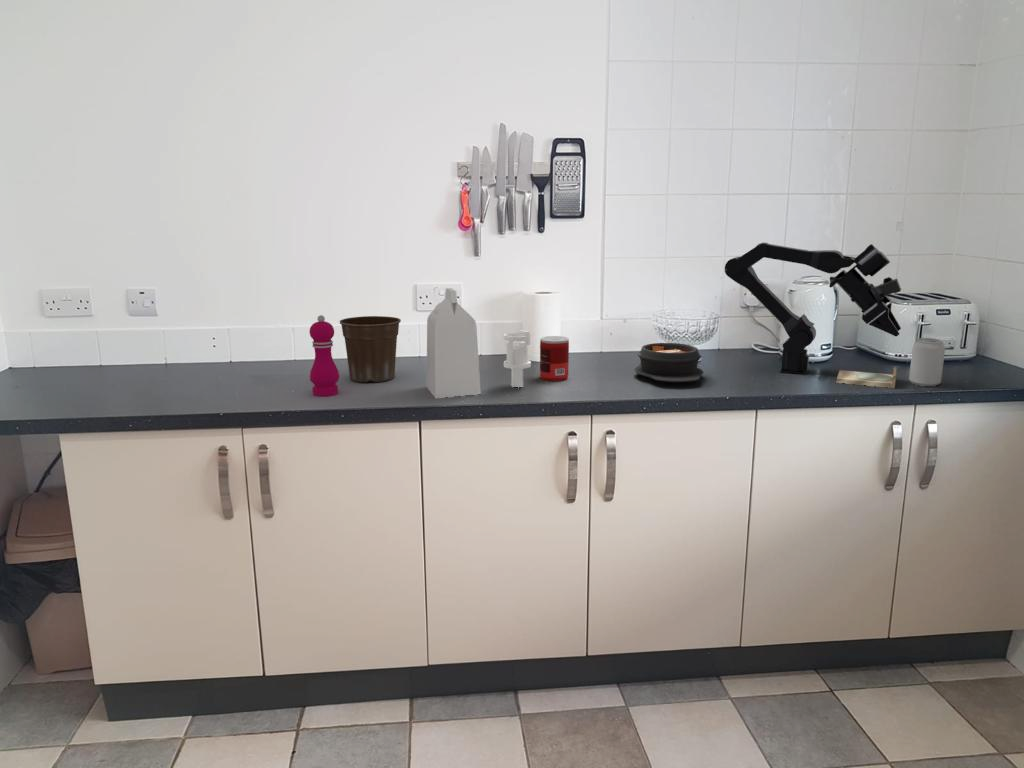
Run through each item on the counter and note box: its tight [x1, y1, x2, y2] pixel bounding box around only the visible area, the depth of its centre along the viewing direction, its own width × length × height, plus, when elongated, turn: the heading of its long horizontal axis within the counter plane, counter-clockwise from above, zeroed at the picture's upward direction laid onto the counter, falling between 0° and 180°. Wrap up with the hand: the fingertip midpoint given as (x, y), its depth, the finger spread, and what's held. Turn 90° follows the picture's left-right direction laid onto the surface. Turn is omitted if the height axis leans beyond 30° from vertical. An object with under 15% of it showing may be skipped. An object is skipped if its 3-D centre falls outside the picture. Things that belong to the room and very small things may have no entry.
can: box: [908, 337, 946, 387], centre depth 208 cm, size 8×8×12 cm
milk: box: [426, 287, 482, 399], centre depth 200 cm, size 12×12×26 cm
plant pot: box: [339, 315, 402, 383], centre depth 216 cm, size 16×16×16 cm
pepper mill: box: [309, 314, 340, 397], centre depth 199 cm, size 7×7×20 cm
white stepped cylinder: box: [503, 329, 532, 389], centre depth 206 cm, size 7×7×15 cm
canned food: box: [539, 335, 570, 382], centre depth 216 cm, size 8×8×11 cm
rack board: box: [835, 367, 897, 389], centre depth 212 cm, size 14×11×3 cm
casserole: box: [634, 342, 704, 383], centre depth 216 cm, size 25×19×8 cm
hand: (898, 332), depth 209 cm, fingers open, 9 cm apart
